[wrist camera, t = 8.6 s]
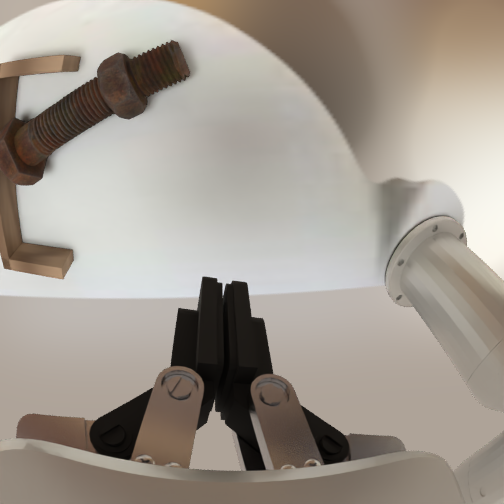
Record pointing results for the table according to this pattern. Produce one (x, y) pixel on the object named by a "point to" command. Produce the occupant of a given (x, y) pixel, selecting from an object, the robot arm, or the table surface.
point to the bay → (4, 190)
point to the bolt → (88, 108)
